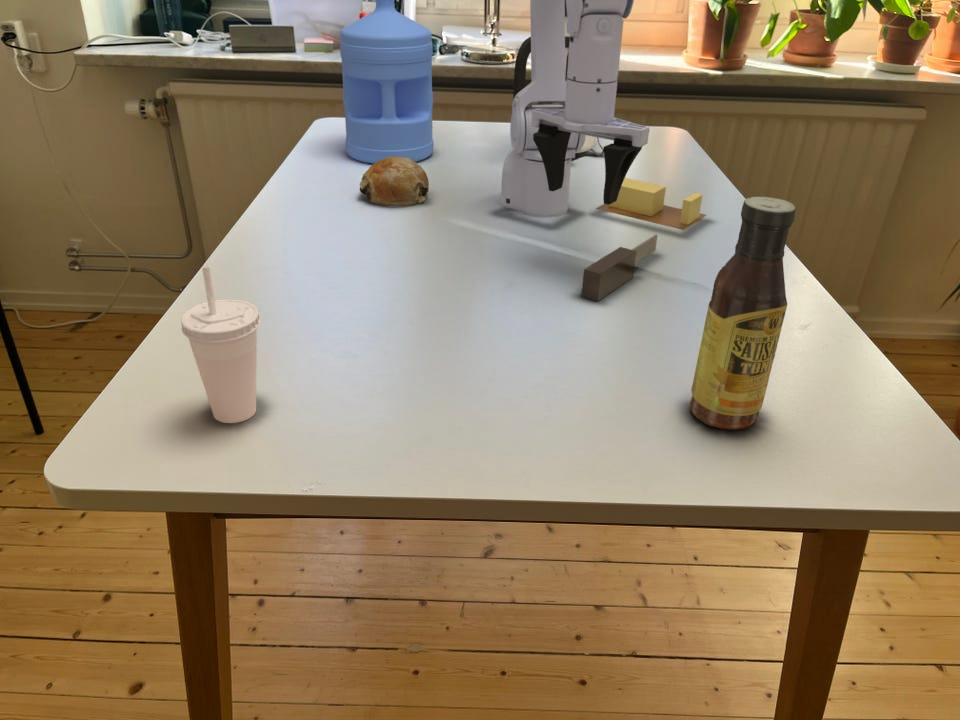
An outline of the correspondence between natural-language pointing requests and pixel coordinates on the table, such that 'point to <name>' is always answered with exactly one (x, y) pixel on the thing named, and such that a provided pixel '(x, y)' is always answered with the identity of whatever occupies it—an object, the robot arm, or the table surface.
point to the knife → (614, 270)
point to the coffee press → (521, 76)
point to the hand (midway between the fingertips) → (582, 195)
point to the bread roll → (395, 182)
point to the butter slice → (691, 208)
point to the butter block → (640, 197)
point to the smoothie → (225, 352)
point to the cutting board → (655, 216)
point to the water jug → (387, 86)
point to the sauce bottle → (744, 319)
